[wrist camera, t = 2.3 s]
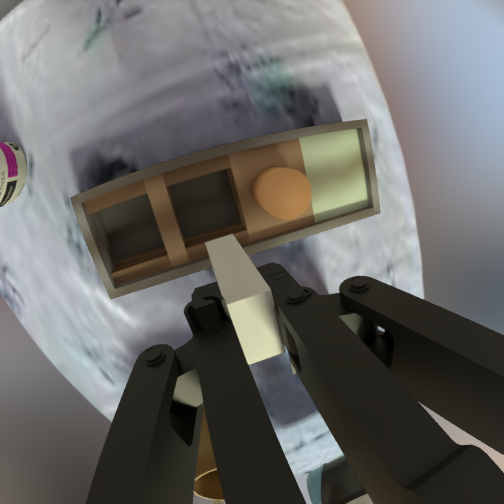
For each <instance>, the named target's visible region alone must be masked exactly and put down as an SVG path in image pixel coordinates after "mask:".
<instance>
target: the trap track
mask: <svg viewBox="0 0 504 504" xmlns="http://www.w3.org/2000/svg"><path fill="white" fill-rule="evenodd" d="M269 167H283V168H290V169H295V170H298V171H299V172H301V173H302V174H304V175H305V176H306V178H307V179H308V181H309V183H310V185H311V191H312V196H311V201H310V204H309V206H308V208H307V209H306V210H305V212H304V213H303V214H301V215H300V216H298V217H297V218H294V219H290V220H282V219H279V218H276V217H274V216H273V215H271V214H270V213H268V212H267V211H265V210H264V209H262V208H261V207H260V206H258V204H257V203H256V202H255V200H254V197H253V193H252V188H253V183H254V180H255V178H256V177H257V175H258V174H259V173H260V172H261V171H263V170H264V169H266V168H269ZM70 199H71V202H72V205H73V208H74V211H75V214H76V217H77V220H78V223H79V225H80V228H81V231H82V233H83V236H84V239H85V241H86V244H87V246H88V249H89V251H90V254H91V256H92V259H93V261H94V264H95V266H96V268H97V271H98V273H99V275H100V277H101V280H102V282H103V284H104V286H105V288H106V290H107V293H108V295H109V297H110V299H113V298H116V297H120V296H123V295H126V294H129V293H132V292H135V291H139V290H142V289H145V288H148V287H151V286H154V285H157V284H161V283H164V282H167V281H170V280H173V279H176V278H180V277H183V276H186V275H189V274H192V273H195V272H198V271H201V270H205V269H208V268H211V267H213V266H212V263H211V260H210V257H209V254H208V250H207V247H206V244H205V242H208V241H211V240H214V239H218V238H221V237H224V236H227V235H230V234H233V235H234V237H235V238H236V239H237V241H238V242H239V244H240V245H241V247H242V248H243V250H244V251H245V253H246V254H247V256H248V255H252V254H255V253H258V252H261V251H264V250H267V249H270V248H273V247H277V246H280V245H283V244H286V243H289V242H292V241H295V240H298V239H302V238H305V237H308V236H311V235H314V234H317V233H320V232H323V231H326V230H330V229H333V228H336V227H339V226H342V225H345V224H348V223H351V222H354V221H357V220H361V219H364V218H367V217H370V216H373V215H376V214H379V213H380V205H379V196H378V187H377V178H376V171H375V164H374V157H373V151H372V145H371V139H370V133H369V128H368V123H367V119H363V120H354V121H346V122H338V123H331V124H324V125H318V126H311V127H305V128H300V129H294V130H289V131H283V132H278V133H273V134H268V135H264V136H259V137H254V138H250V139H246V140H241V141H237V142H233V143H229V144H225V145H221V146H217V147H213V148H210V149H206V150H202V151H199V152H195V153H192V154H188V155H185V156H182V157H178V158H175V159H172V160H169V161H166V162H163V163H159V164H156V165H153V166H150V167H148V168H145V169H142V170H139V171H136V172H133V173H130V174H128V175H125V176H122V177H120V178H117V179H114V180H112V181H109V182H107V183H104V184H101V185H99V186H97V187H94V188H92V189H89V190H87V191H84V192H82V193H80V194H77V195H75V196H73V197H71V198H70Z"/></svg>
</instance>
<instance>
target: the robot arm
mask: <svg viewBox="0 0 504 504" xmlns="http://www.w3.org/2000/svg"><path fill="white" fill-rule="evenodd" d="M205 244H206V247H207V250H208V254H209V257H210V260H211V263H212V266H213V269H214V273H215V276H216V279H217V282H214V283H211V284H208V285H204V286H201V287H198V288H195V290H194V292H193V294H192V301H191V302H189V303H188V304H187V306H186V307H185V309H184V314H185V316H186V319H187V321H188V323H189V326H190V328H191V330H192V333H193V337H192V339H191V340H190V341H188V342H187V343H186V344H184V345H183V346H181V347H179V348H177V349H176V350H173V348H172V347H171V346H169V345H166V344H159V345H155V346H152V347H150V348H148V349H146V350H145V351H143V352H142V353H141V354H140V355H139V357H138V358H137V360H136V363H135V365H134V367H133V370H132V372H131V375H130V377H129V380H128V382H127V385H126V387H125V390H124V392H123V395H122V397H121V400H120V403H119V405H118V408H117V411H116V413H115V416H114V419H113V421H112V424H111V427H110V430H109V432H108V435H107V438H106V441H105V444H104V447H103V450H102V453H101V456H100V459H99V462H98V465H97V468H96V471H95V474H94V477H93V481H92V484H91V488H90V491H89V494H88V497H87V501H86V504H193V493H194V485H195V475H196V466H197V457H198V449H199V440H200V432H201V424H202V416H203V408H204V409H205V414H206V420H207V425H208V430H209V435H210V440H211V444H212V449H213V454H214V458H215V463H216V467H217V471H218V476H219V480H220V484H221V488H222V492H223V496H224V500H225V503H226V504H306V502H305V500H304V497H303V495H302V493H301V491H300V489H299V486H298V484H297V482H296V480H295V477H294V475H293V473H292V471H291V468H290V466H289V464H288V461H287V459H286V457H285V455H284V452H283V450H282V447H281V445H280V443H279V440H278V438H277V436H276V433H275V431H274V428H273V426H272V424H271V421H270V419H269V416H268V414H267V411H266V409H265V406H264V404H263V401H262V399H261V396H260V394H259V391H258V389H257V386H256V383H255V381H254V378H253V376H252V373H251V370H250V368H249V365H250V364H253V363H256V362H259V361H261V360H264V359H267V358H270V357H273V356H275V355H278V354H281V353H283V352H285V348H284V345H285V346H286V348H287V350H288V354H289V358H290V363H291V367H292V372H293V374H296V372H297V374H298V376H299V377H300V379H301V381H302V383H303V384H304V386H305V388H306V390H307V392H308V393H309V395H310V397H311V399H312V400H313V402H314V404H315V406H316V407H317V409H318V411H319V412H320V414H321V416H322V418H323V419H324V421H325V423H326V425H327V426H328V428H329V430H330V431H331V433H332V435H333V437H334V438H335V440H336V442H337V443H338V445H339V447H340V449H341V450H342V452H343V454H344V455H342V456H341V457H339V458H337V459H335V460H333V461H331V462H329V463H325V464H323V465H322V466H321V467H319V468H317V469H315V470H313V471H312V472H310V473H309V475H308V477H307V488H308V493H309V496H310V499H311V502H312V503H313V504H504V473H503V471H501V469H500V468H499V467H498V466H497V465H496V464H495V462H494V461H493V460H492V459H491V458H490V457H489V456H488V455H487V454H486V453H485V452H484V451H483V450H481V449H480V448H479V447H476V446H474V445H459V444H457V443H455V442H454V441H453V440H452V439H451V438H450V437H449V436H448V435H447V434H446V432H445V431H444V430H443V429H442V428H441V427H440V426H439V425H438V423H437V422H436V421H435V420H434V419H433V418H432V417H431V415H429V413H428V412H427V411H426V410H425V409H424V408H423V407H422V406H421V404H423V405H424V406H426V407H428V408H429V409H431V410H432V411H434V412H435V413H437V414H438V415H440V416H441V417H443V418H445V419H446V420H448V421H449V422H451V423H452V424H454V425H456V426H457V427H459V428H460V429H462V430H463V431H465V432H467V433H468V434H470V435H472V436H473V437H475V438H476V439H478V440H480V441H481V442H483V443H485V444H486V445H488V446H489V447H491V448H493V449H494V450H496V451H498V452H499V453H501V454H503V455H504V335H502V334H500V333H497V332H495V331H493V330H491V329H489V328H487V327H484V326H482V325H480V324H478V323H476V322H473V321H471V320H469V319H466V318H464V317H462V316H460V315H458V314H455V313H453V312H451V311H448V310H446V309H444V308H442V307H439V306H437V305H435V304H432V303H430V302H428V301H425V300H423V299H421V298H419V297H416V296H414V295H412V294H409V293H407V292H404V291H402V290H400V289H397V288H395V287H393V286H390V285H388V284H386V283H383V282H381V281H378V280H376V279H374V278H371V277H367V276H355V277H351V278H348V279H346V280H344V281H343V282H342V283H341V285H340V287H339V291H340V293H336V294H330V295H322V296H321V295H318V294H317V293H316V292H315V291H314V290H312V289H310V288H307V287H301V286H300V285H299V284H298V283H297V282H296V281H295V280H294V279H293V278H292V277H291V275H289V273H288V272H287V271H286V270H285V269H284V268H283V267H282V266H281V265H279V264H276V263H273V262H272V263H269V264H266V265H263V266H260V267H257V268H256V267H255V266H254V264H253V263H252V261H251V260H250V258H249V257H248V256H247V254H246V253H245V251H244V250H243V248H242V247H241V245H240V244H239V242H238V241H237V239H236V238H235V237H234V235H233V234H230V235H227V236H224V237H221V238H218V239H214V240H211V241H208V242H205ZM378 326H379V327H381V328H383V329H385V332H382V331H380V330H378ZM295 370H296V371H295ZM419 402H420V403H421V404H420V403H419ZM203 403H204V407H203Z"/></svg>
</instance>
